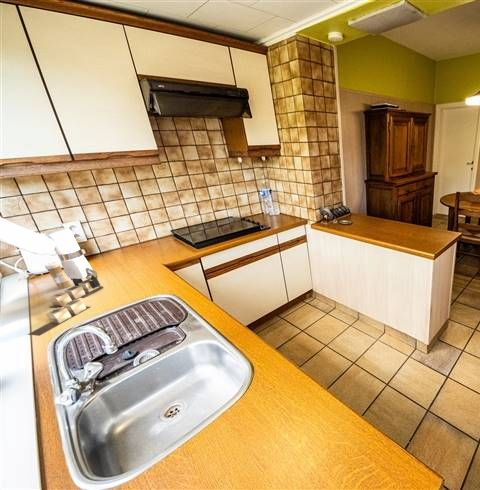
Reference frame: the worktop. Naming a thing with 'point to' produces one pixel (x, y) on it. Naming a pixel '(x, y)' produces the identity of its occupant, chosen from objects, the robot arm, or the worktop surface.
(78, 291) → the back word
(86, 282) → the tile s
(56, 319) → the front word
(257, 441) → the worktop surface
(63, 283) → the sprinkles bottle
